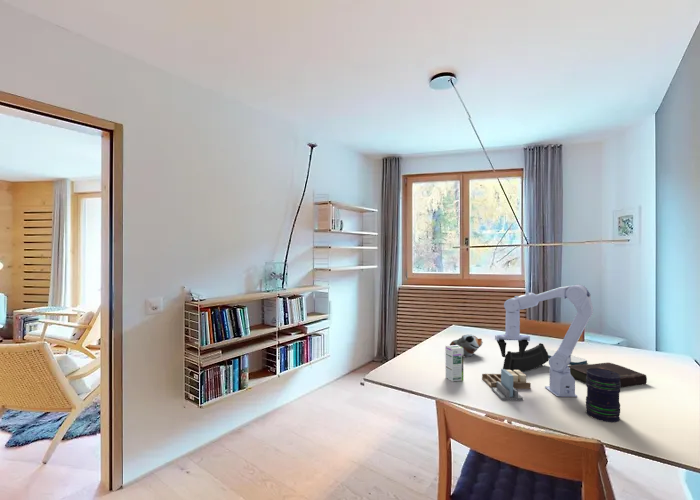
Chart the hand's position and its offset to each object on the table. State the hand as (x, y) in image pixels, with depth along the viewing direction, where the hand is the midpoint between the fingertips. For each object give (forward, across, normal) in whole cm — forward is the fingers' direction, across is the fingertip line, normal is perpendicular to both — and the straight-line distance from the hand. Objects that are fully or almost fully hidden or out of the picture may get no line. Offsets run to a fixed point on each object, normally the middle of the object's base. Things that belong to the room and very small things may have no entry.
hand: (512, 356), depth 160 cm
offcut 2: (+10, -2, +4) cm, 11 cm away
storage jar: (+11, -17, +33) cm, 39 cm away
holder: (+10, +9, +16) cm, 21 cm away
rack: (+10, +4, +4) cm, 12 cm away
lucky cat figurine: (+11, +8, -39) cm, 41 cm away
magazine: (+11, -13, -15) cm, 23 cm away
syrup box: (+11, +25, -1) cm, 27 cm away
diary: (+11, -42, -2) cm, 43 cm away
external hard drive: (+11, -40, -33) cm, 53 cm away
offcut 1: (+10, +2, +4) cm, 11 cm away
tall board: (+9, +9, +16) cm, 21 cm away
